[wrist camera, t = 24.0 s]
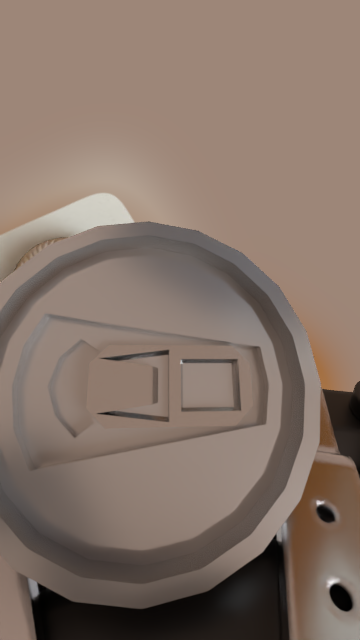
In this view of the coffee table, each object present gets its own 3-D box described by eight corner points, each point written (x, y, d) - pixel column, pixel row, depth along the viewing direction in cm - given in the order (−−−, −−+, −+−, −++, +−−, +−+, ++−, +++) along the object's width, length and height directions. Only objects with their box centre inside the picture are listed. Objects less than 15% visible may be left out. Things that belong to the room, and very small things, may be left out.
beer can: (197, 343, 16) (312, 217, 5) (200, 447, 15) (367, 613, 4) (99, 342, 16) (-36, 198, 4) (92, 450, 15) (-126, 658, 3)
